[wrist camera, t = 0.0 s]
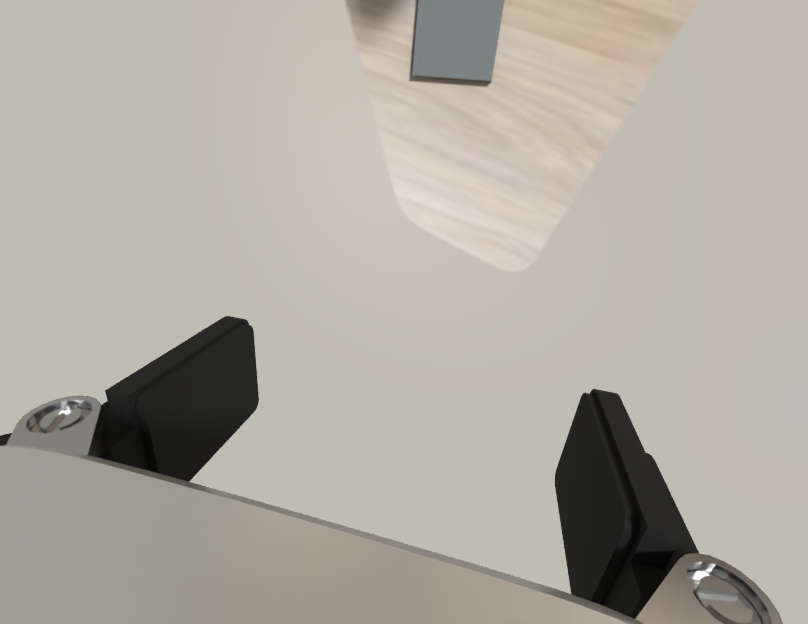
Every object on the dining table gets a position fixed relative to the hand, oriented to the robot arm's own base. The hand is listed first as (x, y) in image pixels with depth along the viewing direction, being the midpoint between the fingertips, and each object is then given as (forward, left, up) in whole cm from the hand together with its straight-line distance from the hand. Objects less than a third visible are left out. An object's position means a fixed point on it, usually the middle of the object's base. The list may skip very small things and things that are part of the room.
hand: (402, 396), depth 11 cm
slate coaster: (-15, -4, -31) cm, 35 cm away
